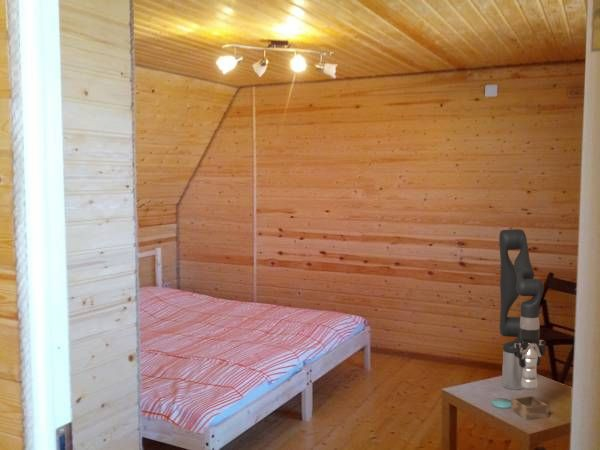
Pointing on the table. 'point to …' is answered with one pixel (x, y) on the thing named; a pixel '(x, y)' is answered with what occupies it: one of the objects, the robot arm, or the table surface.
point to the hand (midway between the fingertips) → (529, 366)
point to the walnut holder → (529, 408)
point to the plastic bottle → (530, 369)
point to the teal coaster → (501, 403)
